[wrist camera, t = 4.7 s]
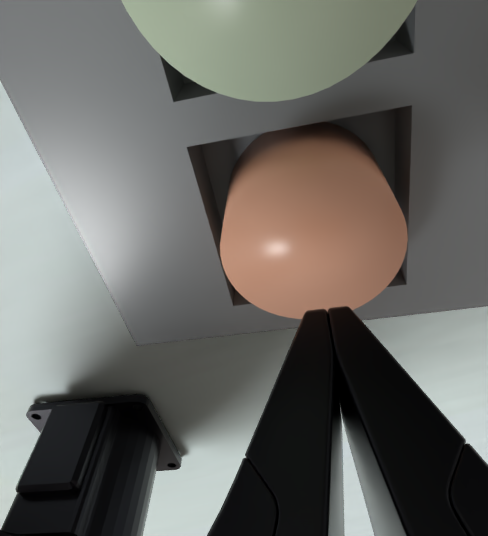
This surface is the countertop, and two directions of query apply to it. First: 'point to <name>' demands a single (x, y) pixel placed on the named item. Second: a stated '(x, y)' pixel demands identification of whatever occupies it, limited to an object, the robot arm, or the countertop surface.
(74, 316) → the countertop surface
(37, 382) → the countertop surface
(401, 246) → the terracotta button
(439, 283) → the panel
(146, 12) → the sage button
